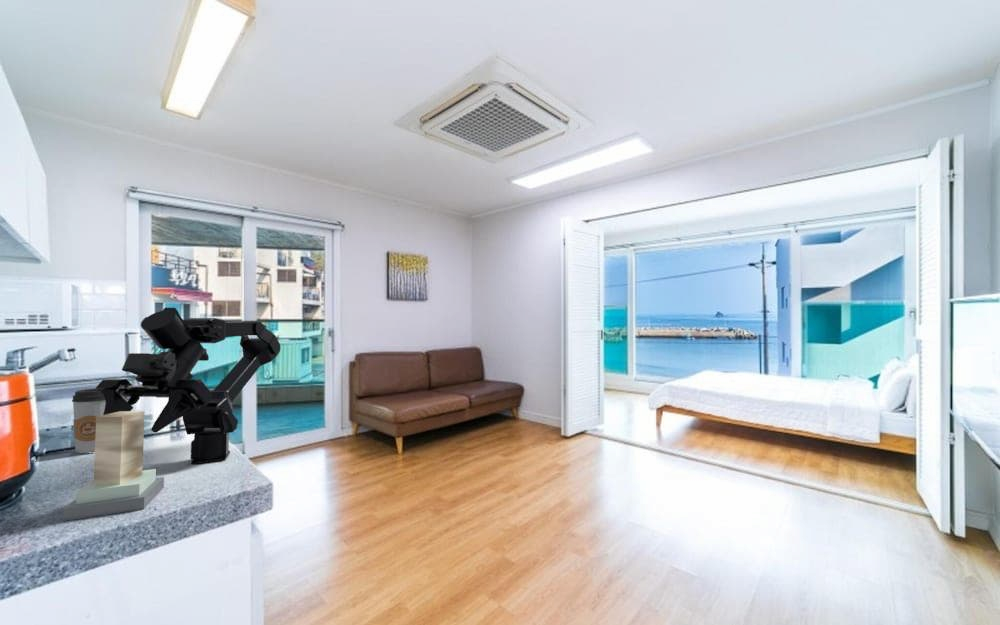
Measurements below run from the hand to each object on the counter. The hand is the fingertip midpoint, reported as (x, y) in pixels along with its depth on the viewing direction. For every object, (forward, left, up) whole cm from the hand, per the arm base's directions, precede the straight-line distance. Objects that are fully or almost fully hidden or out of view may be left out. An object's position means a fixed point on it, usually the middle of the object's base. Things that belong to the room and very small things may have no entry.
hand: (127, 431), depth 72 cm
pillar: (+1, +1, -8) cm, 8 cm away
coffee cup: (+19, -40, -12) cm, 46 cm away
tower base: (+1, +1, -12) cm, 12 cm away
